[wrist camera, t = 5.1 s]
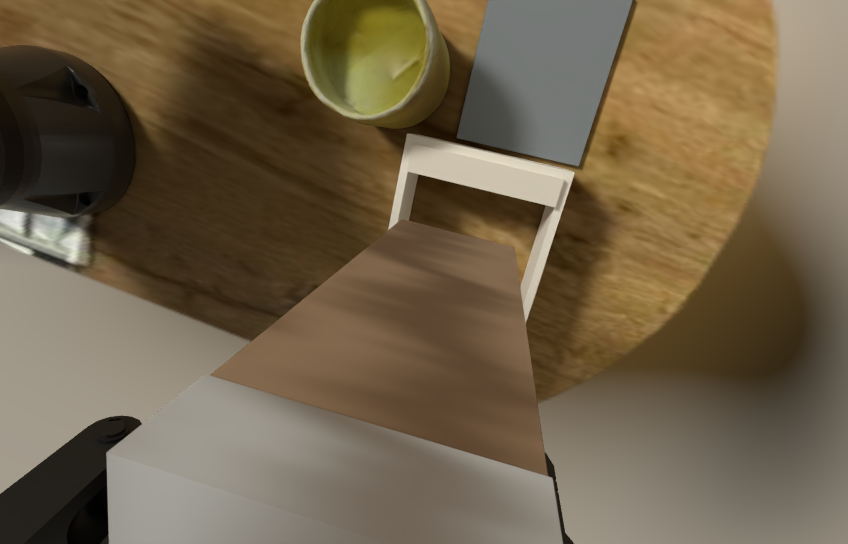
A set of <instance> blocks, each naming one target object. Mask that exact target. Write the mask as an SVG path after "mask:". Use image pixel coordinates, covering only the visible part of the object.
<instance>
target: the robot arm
mask: <svg viewBox="0 0 848 544" xmlns="http://www.w3.org/2000/svg"><path fill="white" fill-rule="evenodd" d="M134 158H135V151H134V140H133V134H132V130H131V126H130V123H129V120H128V117H127V114H126V112H125V110H124V107H123V105H122V103H121V102H120V100H119V98H118V96H117V95H116V93H115V92H114V90H113V89H112V88H111V86H110V85H109V84H108V82H107V81H106V80H105V79H104V78H103V77H102V76H101V75H100V74H99V73H98V72H97V71H96V70H95V69H94V68H92V67H91V66H90V65H88V64H87V63H86V62H84V61H82V60H81V59H79V58H77V57H75V56H73V55H71V54H68V53H65V52H61V51H57V50H52V49H47V48H42V47H37V46H28V45H18V46H10V47H3V48H0V209H5V210H12V211H19V212H26V213H33V214H39V215H46V216H53V217H77V216H83V215H88V214H94V213H98V212H101V211H103V210H106V209H107V208H109V207H111V206H112V205H113V204H115V203H116V202H117V201H118V200H119V199H120V198H121V196H122V195H123V194H124V192H125V191H126V189H127V187H128V185H129V182H130V180H131V177H132V173H133V168H134ZM140 425H142V423H141V422H140V420H138V419H135V418H133V417H129V416H114V417H109V418H105V419H102V420H99V421H97V422H95V423H93V424H92V425H90V426H88V427H87V428H86V429H84V430H83V431H82V432H80V433H79V434H78V435H77V436H75V437H74V438H73V439H71V440H70V441H69V442H68V443H66V444H65V445H64V446H62V447H61V448H60V449H58V450H57V451H56V452H54V453H53V454H52V455H50V456H49V457H48V458H47V459H45V460H44V461H43V462H41V463H40V464H39V465H37V466H36V467H35V468H34V469H32V470H31V471H30V472H29V473H27V474H26V475H24V477H22V478H21V479H19V480H18V481H17V482H15V483H14V484H13V485H11V486H10V487H9V488H8V489H6V490H5V491H4V492H3V493H1V494H0V544H109V530H108V493H107V456H106V452H108V451H109V450H110V449H111V448H113V447H114V446H115V445H117V444H118V443H119V442H120V441H122V440H123V439H124V438H125V437H127V436H128V435H129V434H130V433H132V432H133V431H134V430H135V429H137V428H138V427H139V426H140ZM545 459H546V466H547V473H548V477H551V478H553V484H554V490H555V497H556V503H557V509H558V516H559V522H560V528H561V534H562V541H563V544H574V543H573V542H572V540H571V539H570V538H569V537H568V536H567V534H566V533H565V529H564V524H563V518H562V512H561V506H560V500H559V494H558V492H557V491H558V488H557V482H556V476H555V470H554V465H553V464H552V462H551V461H550V459H549V458H548V456H547V454H546V453H545Z"/></svg>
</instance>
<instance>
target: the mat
mask: <svg viewBox="0 0 848 544" xmlns="http://www.w3.org/2000/svg"><path fill="white" fill-rule="evenodd" d="M632 1H633V0H488V4H487V8H486V12H485V17H484V21H483V25H482V30H481V34H480V38H479V43H478V47H477V51H476V55H475V60H474V64H473V68H472V73H471V77H470V81H469V86H468V90H467V94H466V98H465V103H464V107H463V111H462V116H461V120H460V124H459V129H458V133H457V137H456V138H458V139H463V140H467V141H471V142H476V143H480V144H484V145H489V146H493V147H497V148H501V149H506V150H510V151H514V152H519V153H523V154H527V155H532V156H536V157H540V158H544V159H549V160H553V161H557V162H562V163H566V164H570V165H575V166H579V164H580V160H581V157H582V154H583V151H584V148H585V145H586V142H587V139H588V136H589V133H590V130H591V127H592V124H593V121H594V118H595V114H596V111H597V108H598V105H599V102H600V99H601V96H602V93H603V90H604V87H605V84H606V81H607V78H608V75H609V72H610V68H611V65H612V62H613V59H614V56H615V53H616V50H617V47H618V44H619V41H620V38H621V35H622V32H623V29H624V26H625V22H626V19H627V16H628V13H629V10H630V7H631V4H632Z"/></svg>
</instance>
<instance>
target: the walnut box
mask: <svg viewBox="0 0 848 544" xmlns="http://www.w3.org/2000/svg"><path fill="white" fill-rule="evenodd" d="M106 456H107V493H108V530H109V544H563V541H562V534H561V528H560V522H559V516H558V509H557V503H556V497H555V490H554V484H553V478H551V477H548V473H547V466H546V459H545V452H544V445H543V439H542V432H541V425H540V418H539V411H538V405H537V398H536V391H535V384H534V377H533V371H532V364H531V357H530V350H529V343H528V336H527V330H526V323H525V316H524V309H523V302H522V296H521V289H520V282H519V275H518V268H517V262H516V255H515V248H514V247H511V246H507V245H503V244H499V243H495V242H491V241H487V240H483V239H479V238H475V237H471V236H467V235H463V234H459V233H455V232H451V231H448V230H444V229H440V228H436V227H432V226H428V225H424V224H420V223H416V222H412V221H408V220H404V219H401V220H400V221H399V222H398V223H396V224H395V225H394V226H393V227H391V228H390V229H389V230H388V231H387V232H385V233H384V234H383V235H382V236H380V237H379V238H378V239H377V240H376V241H374V242H373V243H372V244H371V245H369V246H368V247H367V248H366V249H364V250H363V251H362V252H361V253H360V254H358V255H357V256H356V257H355V258H353V259H352V260H351V261H350V262H348V263H347V264H346V265H345V266H344V267H342V268H341V269H340V270H339V271H337V272H336V273H335V274H334V275H333V276H331V277H330V278H329V279H328V280H326V281H325V282H324V283H323V284H321V285H320V286H319V287H318V288H317V289H315V290H314V291H313V292H312V293H310V294H309V295H308V296H307V297H305V298H304V299H303V300H302V301H301V302H299V303H298V304H297V305H296V306H294V307H293V308H292V309H291V310H290V311H288V312H287V313H286V314H285V315H283V316H282V317H281V318H280V319H278V320H277V321H276V322H275V323H274V324H272V325H271V326H270V327H269V328H267V329H266V330H265V331H264V332H262V333H261V334H260V335H259V336H258V337H256V338H255V339H254V340H253V341H251V342H250V343H249V344H248V345H247V346H245V347H244V348H243V349H242V350H240V351H239V352H238V353H237V354H236V355H234V356H233V357H232V358H231V359H230V360H228V361H227V362H226V363H224V364H223V365H222V366H221V367H220V368H218V369H217V370H216V371H215V372H213V373H212V374H211V375H206V374H205V375H203V376H202V377H201V378H199V379H198V380H197V381H196V382H194V383H193V384H192V385H191V386H190V387H188V388H187V389H186V390H184V391H183V392H182V393H181V394H179V395H178V396H177V397H176V398H174V399H173V400H172V401H171V402H169V403H168V404H167V405H166V406H164V407H163V408H162V409H160V410H159V411H158V412H157V413H156V414H154V415H153V416H152V417H151V418H149V419H148V420H147V421H145V422H144V423H143V424H142V425H140V426H139V427H138V428H137V429H135V430H134V431H133V432H132V433H130V434H129V435H128V436H127V437H125V438H124V439H123V440H122V441H120V442H119V443H118V444H117V445H115V446H114V447H113V448H111V449H110V450H109V451H108V452H106Z"/></svg>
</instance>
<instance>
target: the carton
mask: <svg viewBox="0 0 848 544" xmlns="http://www.w3.org/2000/svg"><path fill="white" fill-rule="evenodd" d="M574 173H575V172H572V171H570V170H567V169H565V168H560V167H556V166H552V165H548V164H543V163H539V162H535V161H530V160H526V159H522V158H518V157H513V156H509V155H505V154H501V153H496V152H492V151H488V150H483V149H479V148H475V147H471V146H466V145H462V144H458V143H454V142H449V141H445V140H441V139H436V138H432V137H428V136H424V135H419V134H409V133H407V137H406V142H405V147H404V152H403V157H402V162H401V167H400V172H399V177H398V182H397V188H396V193H395V198H394V203H393V208H392V213H391V218H390V223H389V228H388V230H389V229H390V228H391V227H393V226H394V225H395V224H396V223H398V222H399V221H400V220H401V219H404V220H408V221H409V217H410V213H411V208H412V203H413V198H414V194H415V189H416V184H417V179H418V175H419V174H420V175H424V176H428V177H432V178H436V179H440V180H444V181H448V182H453V183H457V184H461V185H465V186H469V187H473V188H477V189H481V190H485V191H490V192H494V193H498V194H502V195H506V196H510V197H514V198H518V199H522V200H527V201H531V202H535V203H539V204H543V205H546V206H545V209H544V212H543V215H542V219H541V222H540V225H539V228H538V232H537V235H536V238H535V241H534V244H533V248H532V251H531V254H530V257H529V260H528V264H527V267H526V270H525V273H524V277H523V280H522V283H521V286H520V289H521V296H522V302H523V309H524V316H525V323H526V321H527V318H528V315H529V312H530V309H531V306H532V305H533V302H534V299H535V296H536V293H537V290H538V287H539V284H540V280H541V277H542V274H543V271H544V268H545V265H546V260H547V257H548V254H549V250H550V247H551V244H552V241H553V238H554V235H555V232H556V229H557V226H558V223H559V220H560V217H561V213H562V210H563V207H564V204H565V201H566V198H567V195H568V192H569V189H570V186H571V183H572V180H573V177H574Z"/></svg>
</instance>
